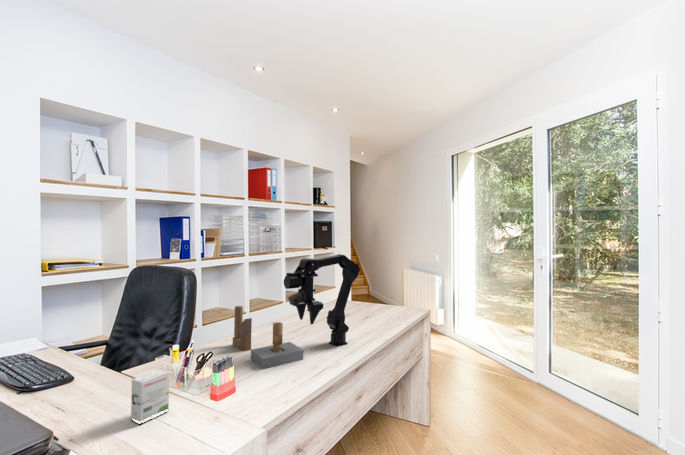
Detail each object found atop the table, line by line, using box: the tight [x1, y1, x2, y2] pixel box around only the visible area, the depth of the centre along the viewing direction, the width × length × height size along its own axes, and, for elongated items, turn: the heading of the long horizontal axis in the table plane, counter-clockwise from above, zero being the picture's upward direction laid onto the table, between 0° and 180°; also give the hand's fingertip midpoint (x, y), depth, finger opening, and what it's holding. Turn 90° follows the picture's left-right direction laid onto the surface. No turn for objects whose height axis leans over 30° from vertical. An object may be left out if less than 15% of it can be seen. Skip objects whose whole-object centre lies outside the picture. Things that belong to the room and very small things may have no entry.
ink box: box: [130, 369, 170, 421], centre depth 99 cm, size 8×5×12 cm, turn 150°
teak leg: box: [272, 322, 284, 353], centre depth 144 cm, size 4×4×14 cm
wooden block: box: [232, 305, 253, 352], centre depth 157 cm, size 4×11×18 cm, turn 45°
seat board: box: [250, 341, 304, 370], centre depth 144 cm, size 18×12×4 cm, turn 126°
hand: (306, 321), depth 154 cm, fingers open, 9 cm apart
